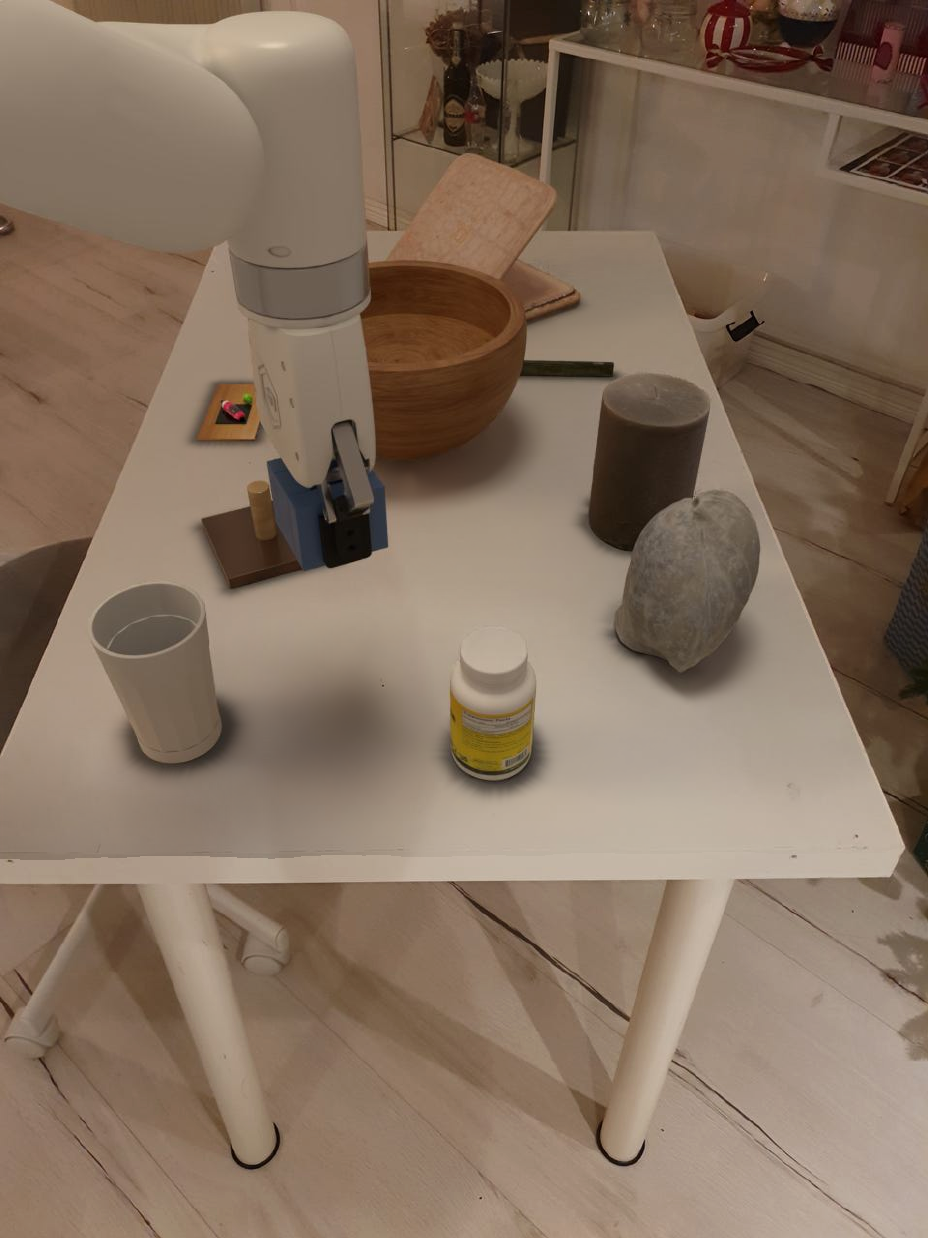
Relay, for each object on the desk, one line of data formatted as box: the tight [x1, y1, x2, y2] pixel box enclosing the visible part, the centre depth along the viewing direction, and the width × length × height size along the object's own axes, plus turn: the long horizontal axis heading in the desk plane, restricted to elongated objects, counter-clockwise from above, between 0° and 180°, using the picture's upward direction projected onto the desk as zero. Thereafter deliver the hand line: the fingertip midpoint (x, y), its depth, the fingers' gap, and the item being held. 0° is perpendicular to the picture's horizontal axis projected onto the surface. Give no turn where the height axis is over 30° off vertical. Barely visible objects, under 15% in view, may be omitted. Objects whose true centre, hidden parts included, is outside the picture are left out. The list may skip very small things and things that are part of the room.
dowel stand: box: [200, 480, 303, 589], centre depth 91 cm, size 10×10×7 cm
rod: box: [520, 359, 615, 377], centre depth 117 cm, size 31×1×2 cm, turn 88°
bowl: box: [360, 260, 528, 462], centre depth 102 cm, size 25×25×15 cm
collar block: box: [266, 457, 389, 572], centre depth 65 cm, size 6×6×5 cm
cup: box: [87, 580, 223, 764], centre depth 72 cm, size 8×8×12 cm
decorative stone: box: [614, 489, 761, 673], centre depth 79 cm, size 15×10×15 cm
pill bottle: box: [449, 625, 537, 781], centre depth 71 cm, size 6×6×11 cm
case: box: [384, 152, 581, 321], centre depth 128 cm, size 20×21×16 cm
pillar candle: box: [587, 371, 712, 552], centre depth 91 cm, size 10×10×15 cm
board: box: [196, 383, 261, 442], centre depth 111 cm, size 6×12×2 cm, turn 179°
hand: (330, 530), depth 66 cm, fingers closed on collar block, 6 cm apart
